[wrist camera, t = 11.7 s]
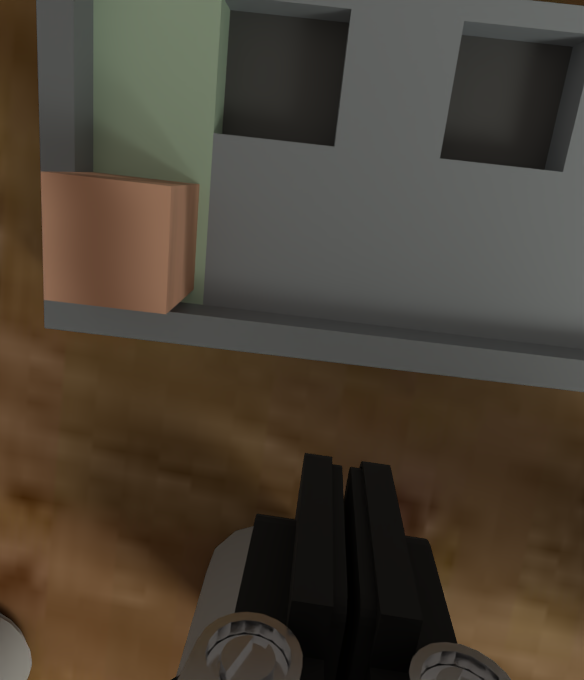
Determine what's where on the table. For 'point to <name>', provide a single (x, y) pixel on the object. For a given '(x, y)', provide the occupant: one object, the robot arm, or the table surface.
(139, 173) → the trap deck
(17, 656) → the can
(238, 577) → the cup
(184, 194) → the block
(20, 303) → the table surface
